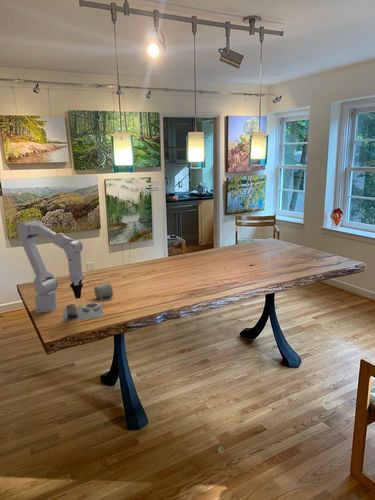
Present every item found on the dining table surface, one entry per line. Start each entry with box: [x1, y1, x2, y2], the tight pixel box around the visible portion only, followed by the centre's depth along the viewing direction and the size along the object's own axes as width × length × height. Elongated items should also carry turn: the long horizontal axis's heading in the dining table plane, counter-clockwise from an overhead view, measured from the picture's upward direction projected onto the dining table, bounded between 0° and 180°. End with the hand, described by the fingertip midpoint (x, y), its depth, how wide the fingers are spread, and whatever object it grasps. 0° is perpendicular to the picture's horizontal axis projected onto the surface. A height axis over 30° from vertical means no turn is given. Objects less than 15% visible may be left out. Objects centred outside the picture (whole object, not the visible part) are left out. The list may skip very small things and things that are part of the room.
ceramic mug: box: [93, 282, 114, 302], centre depth 196 cm, size 11×8×8 cm
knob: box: [65, 304, 79, 319], centre depth 172 cm, size 5×4×6 cm
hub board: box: [62, 302, 104, 323], centre depth 178 cm, size 18×16×2 cm
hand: (78, 295), depth 174 cm, fingers open, 7 cm apart
